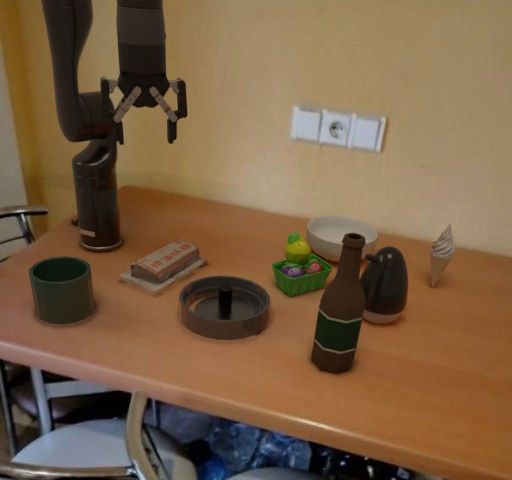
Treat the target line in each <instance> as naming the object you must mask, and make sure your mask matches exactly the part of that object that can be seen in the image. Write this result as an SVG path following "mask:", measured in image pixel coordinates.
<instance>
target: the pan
mask: <svg viewBox="0 0 512 480" xmlns="http://www.w3.org/2000/svg"><path fill="white" fill-rule="evenodd" d="M223 284H227V285H231V286H232V287H233V292H232V296H235V297H239V298H242V299H244V300H246V301H248V302H249V303H250V304H251V305H252V306H253V307H254V310H255V315H253V316H251V317H247V318H244V319H237V320H217V319H211V318H207V317H204V316H201V315H198V314H196V313H195V311H193V310H191V309H190V308H189V307H191V305H193V304H194V303H196V302H197V301H201V300H203V299H205V298H208V297H211V296H217V295H219V286H220V285H223ZM270 310H271V296H270V294H269V292H268V291H267V289H265V288H264V287H263V286H262V285H261V284H259V283H257V282H255V281H253V280H250V279H248V278H243V277H239V276H233V275H209V276H205V277H204V276H203V277H201V278H197V279H195V280H193V281H190V282H188V283H187V284H186V285H184V286H183V287H182V289H181V290H180V292H179V296H178V317H179V320H180V322H181V324H182V325H183V326H184V327H185V328H186V329H187V330H188V331H190V332H192V333H193V334H195V335H197V336H200V337H203V338H206V339H212V340H217V341H234V340H235V341H236V340H242V339H246V338H249V337H253V336H255V335H256V334H258V333H261V332H262V331H263V330H264V329H265V328H266V327H267V325H268V323H269V320H270Z"/></svg>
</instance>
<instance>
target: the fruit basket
mask: <svg viewBox="0 0 512 480" xmlns="http://www.w3.org/2000/svg"><path fill="white" fill-rule="evenodd" d="M286 241H287V242H286V245H285V248H284V256H285V259H284V260H280V261H277V262H273V263H271V268H272V270H273V274H274V278H275V283H276V284H275V285H276V287H277V288H280V290H281V291H282V292H284V293H285V294H287V295H288V296H289V297H293V296H296V295H300V294H304V293H307V292H311V291H315V290H319V289H323V288H324V286H325V285H326V282H327V281H328V279H329V276H330V274H331V273H332V272H333V269H334V267H333V265H331V264H329V263H328V262H327V261H325V260H323V259H322V258H321V257H319V256H318V255H317V254H313V253H311V252H312V251H311V250H312V249H311V247H310V246H309V244H308V242H307V240H305V238H304V236H303V235H302V234H300V233H298V232H296V231H293V232H291V233H289V235H288V237H287V240H286Z"/></svg>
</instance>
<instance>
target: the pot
mask: <svg viewBox="0 0 512 480" xmlns="http://www.w3.org/2000/svg"><path fill="white" fill-rule="evenodd" d="M28 276H29V282H30V287H31V294H32V299H33V304H34V310H35V311H34V312H35V315H36V316H37V318H38V319H39V320H41V321H42V322H45V323H47V324H50V325H51V324H52V325H60V326H61V325H70V324H75V323H79V322H81V321H84V320H86V319H87V318H89V317H90V316H92V315H93V313H94V312H95V310H96V303H95V295H94V287H93V286H94V285H93V278H92V268H91V264H90V263H89V262H88V261H87V260H85V259H82V258H79V257H76V256H67V255H65V256H64V255H62V256H52V257H47V258H44V259H41V260H39V261H38V262H35V263H34V264H33V265H32V266H31V267H30V268H29V269H28Z"/></svg>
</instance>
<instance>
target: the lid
mask: <svg viewBox="0 0 512 480" xmlns="http://www.w3.org/2000/svg"><path fill="white" fill-rule="evenodd" d="M232 292H233V287H232V286H231V285H227V284H223V285H220V286H219V295H217V296H210V297H206V298H202V299H200V300H199V301H198V303H196V304H195V307H194V313H196V314H198V315H201V316H204V317H207V318H211V319H217V320H237V319H244V318H247V317H251V316H253V315H255V310H254V307H253V306H252V305H251V304H250V303H249V302H248V301H246V300H244V299H242V298H239V297H235V296H232Z"/></svg>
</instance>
